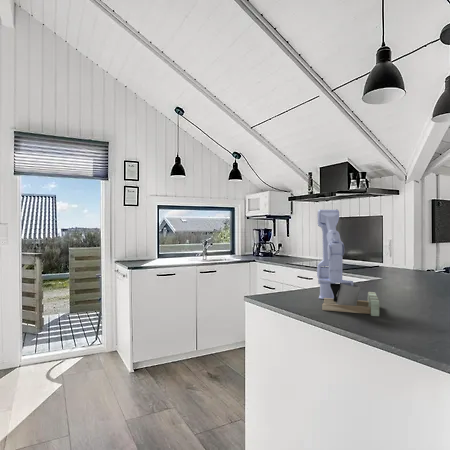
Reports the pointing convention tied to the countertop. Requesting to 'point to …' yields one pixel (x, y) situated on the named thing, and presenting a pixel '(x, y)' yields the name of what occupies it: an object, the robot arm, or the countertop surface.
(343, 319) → the countertop surface
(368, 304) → the wooden tray
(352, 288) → the cup
